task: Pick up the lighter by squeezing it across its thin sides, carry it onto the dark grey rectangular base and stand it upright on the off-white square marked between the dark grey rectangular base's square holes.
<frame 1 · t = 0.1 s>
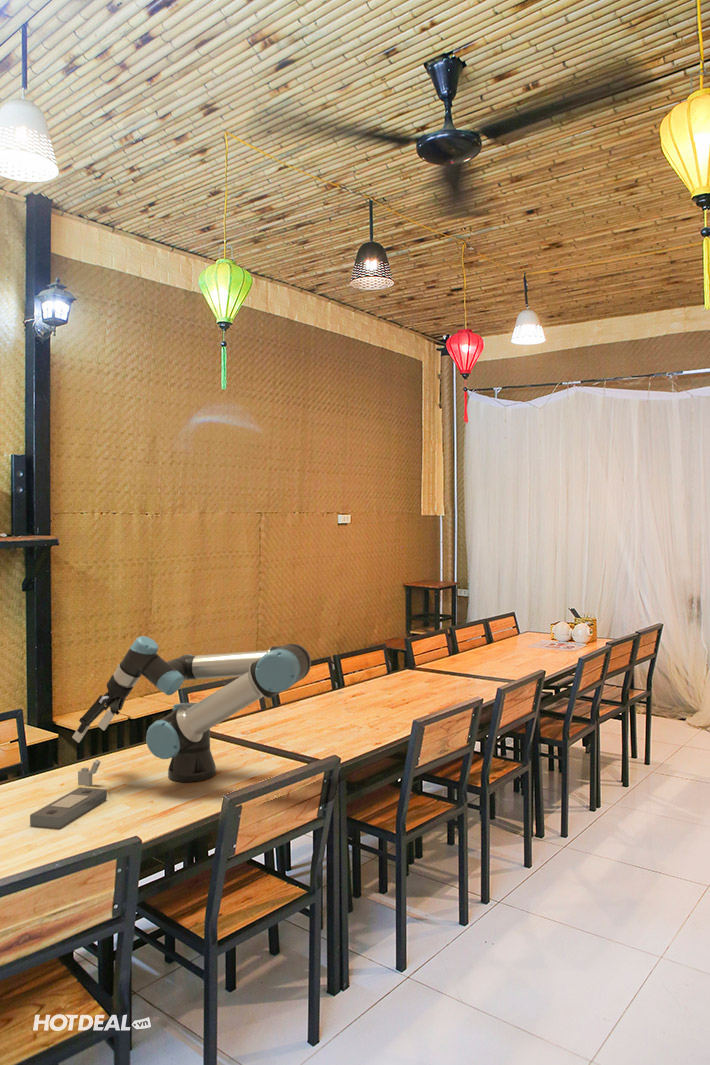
hand: (88, 733, 234), 15 cm above the table, tool tilted 35°, fingers open, 13 cm apart
dark grey rectangular base: (70, 812, 209), on the table
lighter: (89, 785, 231), on the table
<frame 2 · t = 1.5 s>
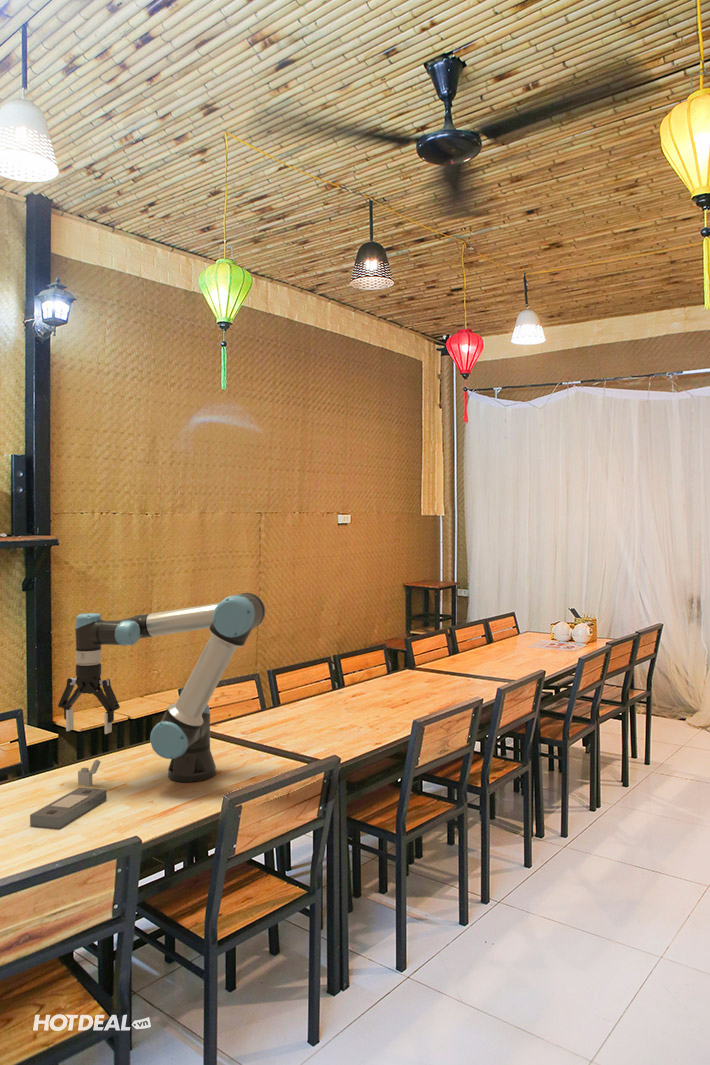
hand: (88, 731, 231), 17 cm above the table, tool pointing down, fingers open, 13 cm apart
nothing on the table moved.
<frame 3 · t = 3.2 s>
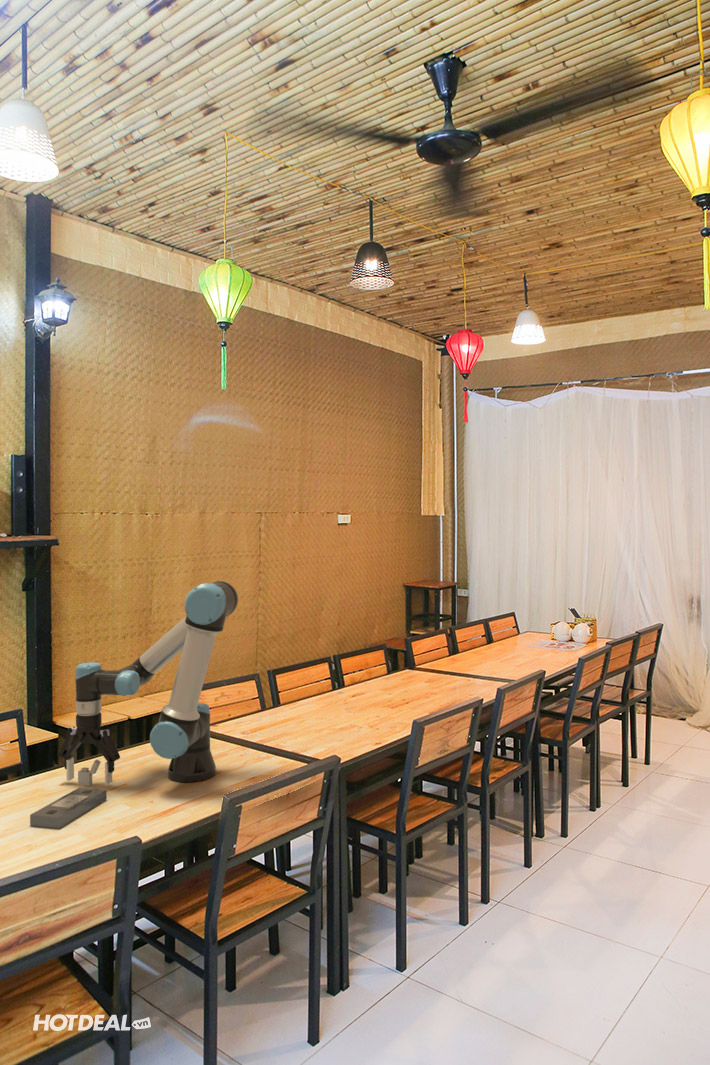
hand: (89, 781, 231), 1 cm above the table, tool pointing down, fingers open, 13 cm apart
nothing on the table moved.
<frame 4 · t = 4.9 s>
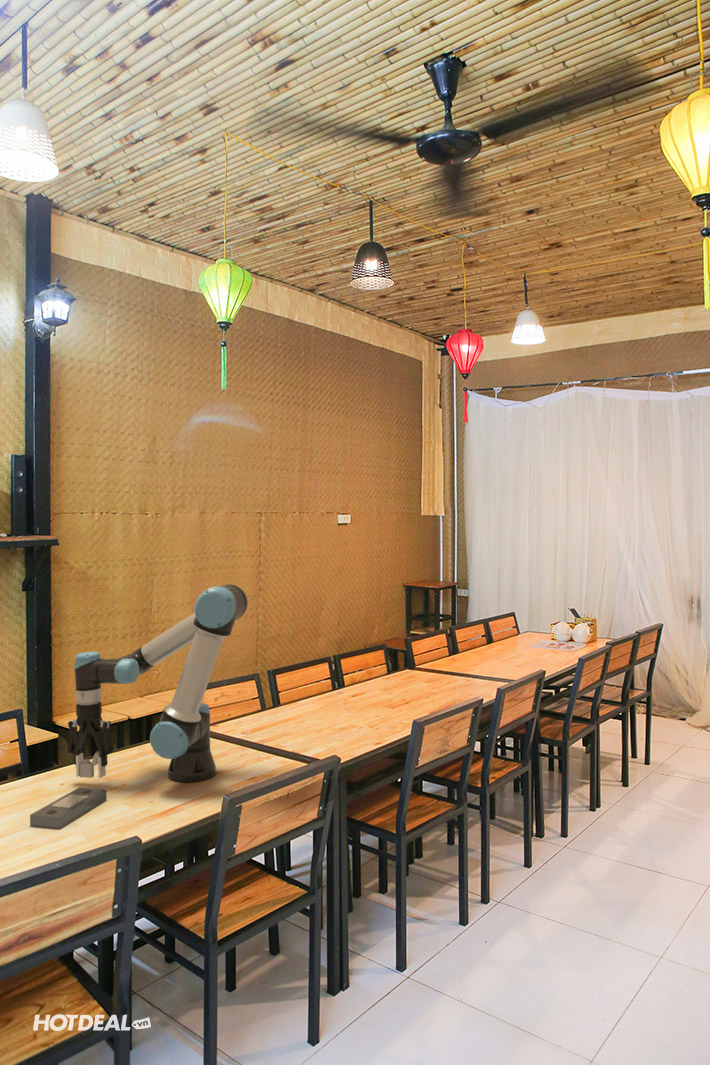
hand: (91, 775, 231), 3 cm above the table, tool pointing down, fingers closed on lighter, 7 cm apart
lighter: (91, 777, 231), point 2 cm above the table, touching gripper
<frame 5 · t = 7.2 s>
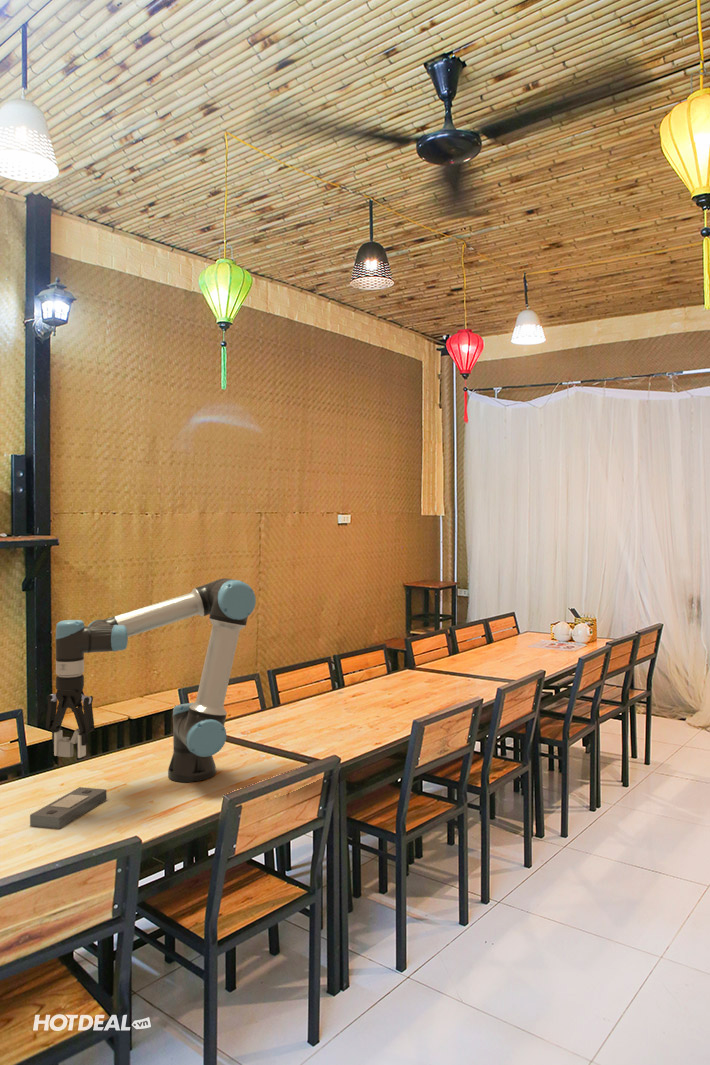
hand: (70, 755, 211), 15 cm above the table, tool pointing down, fingers closed on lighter, 7 cm apart
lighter: (70, 757, 211), point 15 cm above the table, touching gripper
when the fingers open (5 cm above the table, at t = 9.8 s): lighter drops 1 cm, resting on dark grey rectangular base.
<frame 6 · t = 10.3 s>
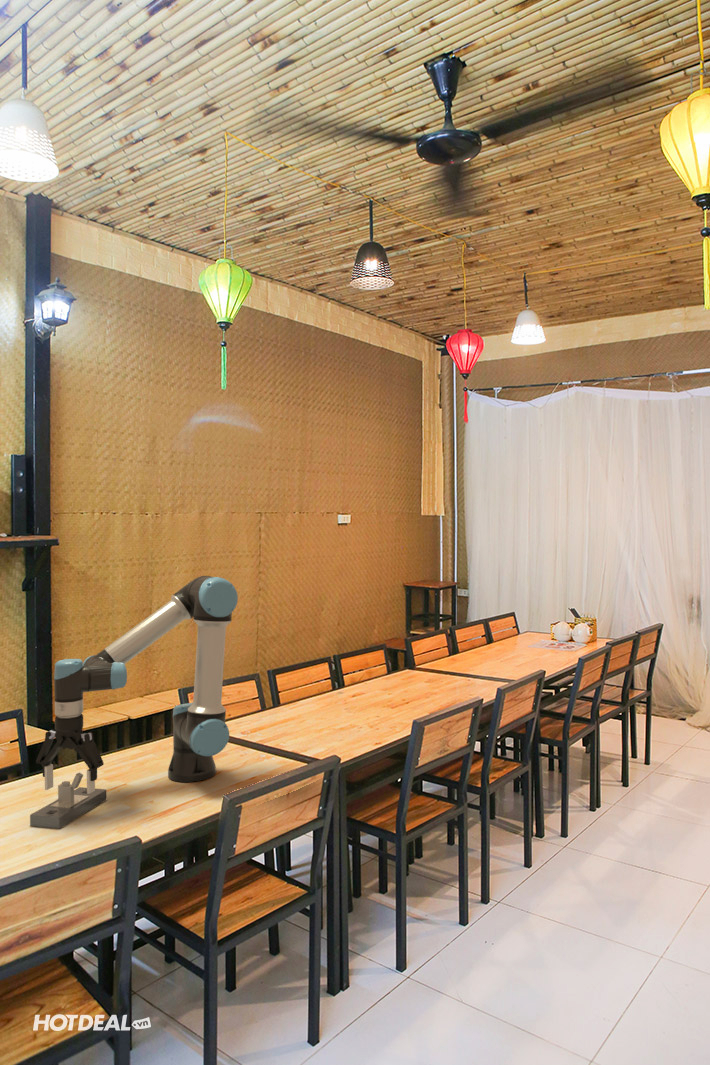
hand: (69, 790, 209), 6 cm above the table, tool pointing down, fingers open, 13 cm apart
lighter: (70, 801, 209), point 3 cm above the table, touching dark grey rectangular base
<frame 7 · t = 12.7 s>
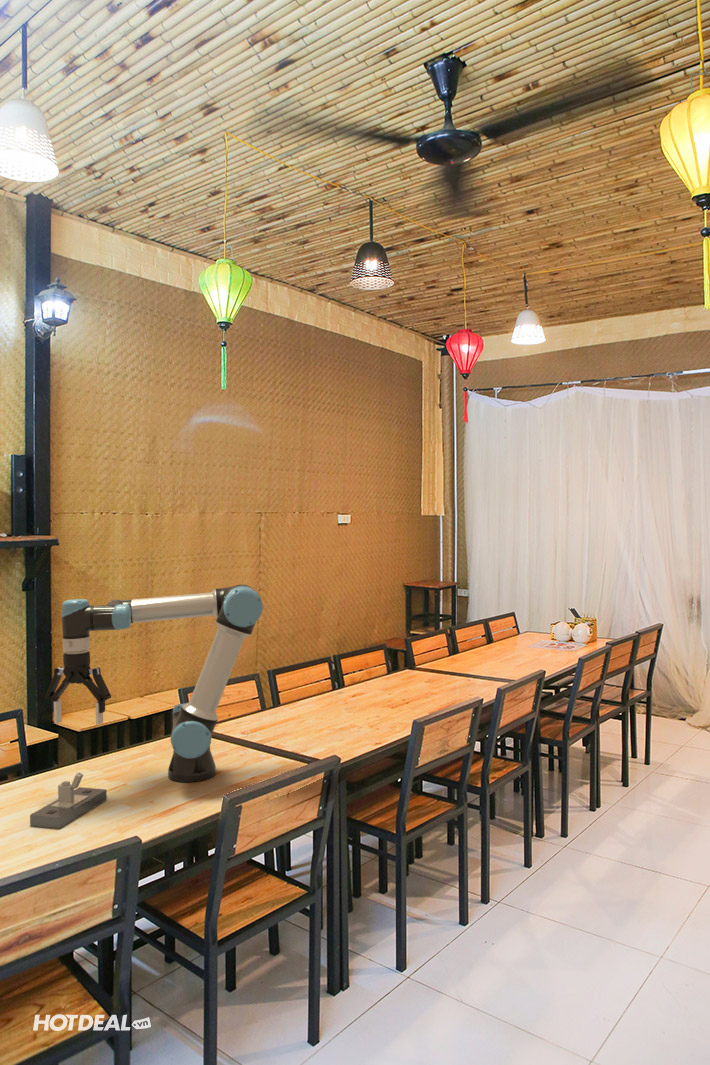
hand: (78, 723, 220), 22 cm above the table, tool pointing down, fingers open, 13 cm apart
nothing on the table moved.
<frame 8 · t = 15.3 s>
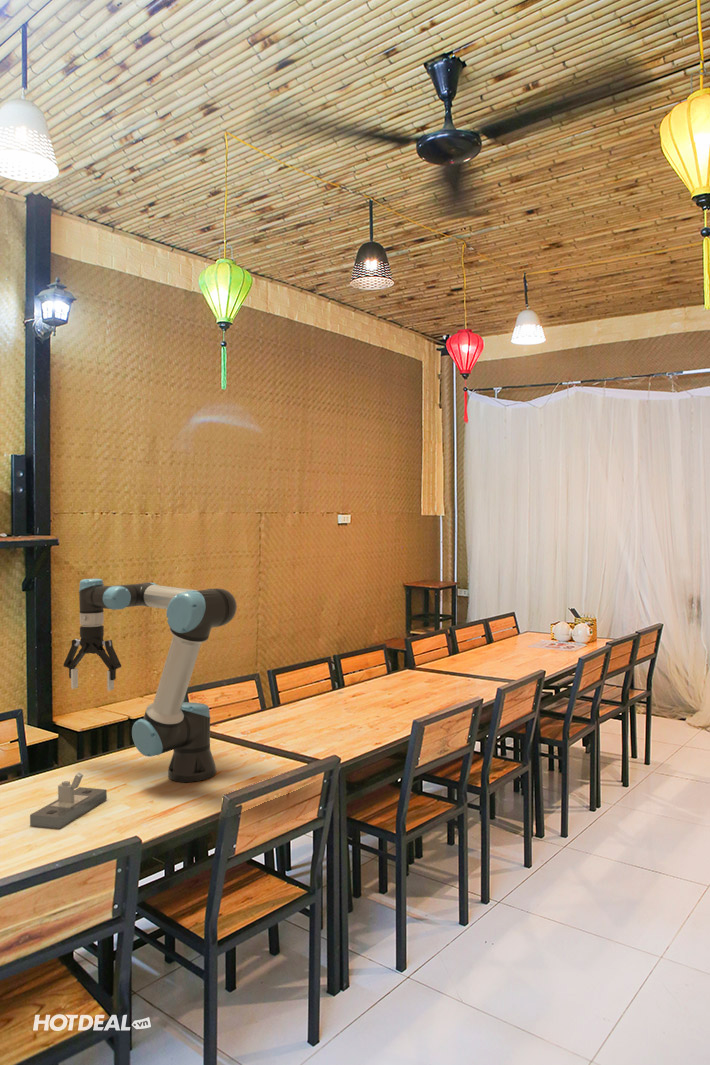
hand: (92, 689, 247), 27 cm above the table, tool pointing down, fingers open, 13 cm apart
nothing on the table moved.
at the end: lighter inside the target area on the dark grey rectangular base (0.2 cm from its centre), point 3.0 cm above the dark grey rectangular base's base; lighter tilted 0°; the gripper is holding nothing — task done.
